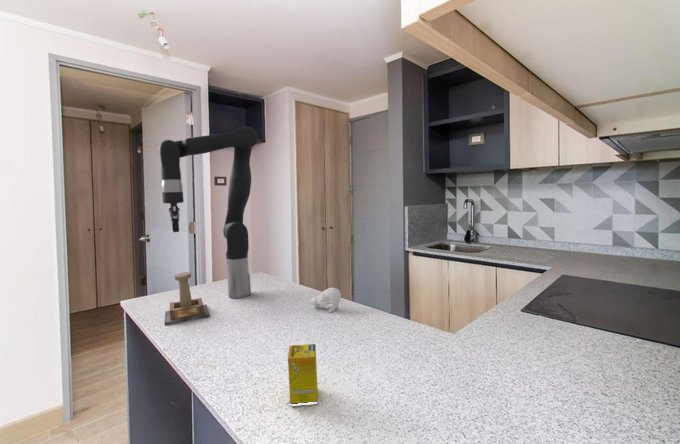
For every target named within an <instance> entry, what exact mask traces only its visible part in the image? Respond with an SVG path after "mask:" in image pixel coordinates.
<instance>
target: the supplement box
mask: <svg viewBox="0 0 680 444" xmlns="http://www.w3.org/2000/svg"><path fill="white" fill-rule="evenodd" d="M316 350H317V348H316V343H309V344H308V343H307V344H294V345H293V344H292V345H289V349H288V353H287V364H288V365H287V367H288V381H289V382H288V384H289V386H288V387H289V389H288V390H289V402H290V404H298V403H308V402H317V401H318V402H319V395H318V394H319V393H318V392H319V391H318V390H319V389H318V372H317V370H318V368H317V351H316Z"/></svg>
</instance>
